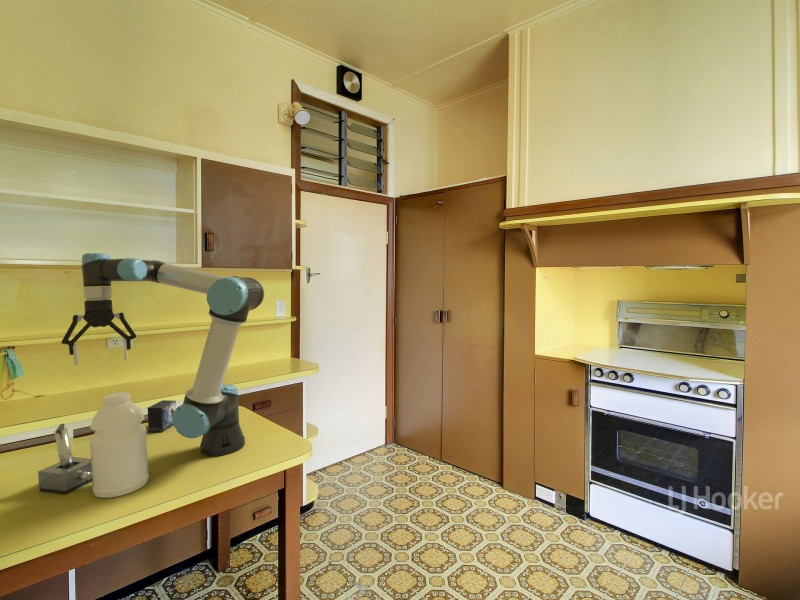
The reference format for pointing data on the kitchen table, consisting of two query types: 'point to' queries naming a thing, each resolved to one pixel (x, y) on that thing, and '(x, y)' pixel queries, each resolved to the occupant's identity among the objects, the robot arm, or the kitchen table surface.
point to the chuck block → (65, 476)
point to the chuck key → (63, 447)
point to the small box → (161, 416)
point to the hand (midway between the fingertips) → (101, 361)
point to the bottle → (118, 447)
